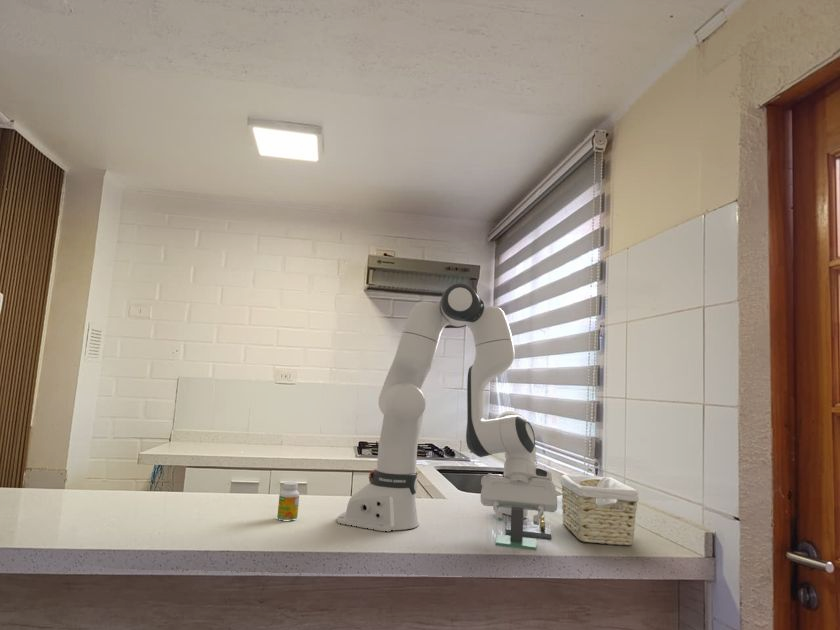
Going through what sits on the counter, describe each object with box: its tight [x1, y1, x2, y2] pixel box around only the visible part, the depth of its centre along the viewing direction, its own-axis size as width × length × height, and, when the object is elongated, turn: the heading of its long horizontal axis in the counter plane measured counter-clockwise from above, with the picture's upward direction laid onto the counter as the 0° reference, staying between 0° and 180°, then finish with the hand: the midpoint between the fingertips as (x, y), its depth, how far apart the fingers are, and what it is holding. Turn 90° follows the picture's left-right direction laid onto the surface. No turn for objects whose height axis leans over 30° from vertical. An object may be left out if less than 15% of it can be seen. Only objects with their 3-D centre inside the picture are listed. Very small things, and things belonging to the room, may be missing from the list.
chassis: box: [505, 516, 552, 540], centre depth 151 cm, size 12×12×4 cm
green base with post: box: [495, 507, 537, 551], centre depth 139 cm, size 10×8×9 cm
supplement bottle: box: [276, 481, 300, 521], centre depth 148 cm, size 5×5×10 cm
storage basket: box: [560, 473, 640, 546], centre depth 153 cm, size 24×16×15 cm
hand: (517, 521), depth 139 cm, fingers open, 8 cm apart
